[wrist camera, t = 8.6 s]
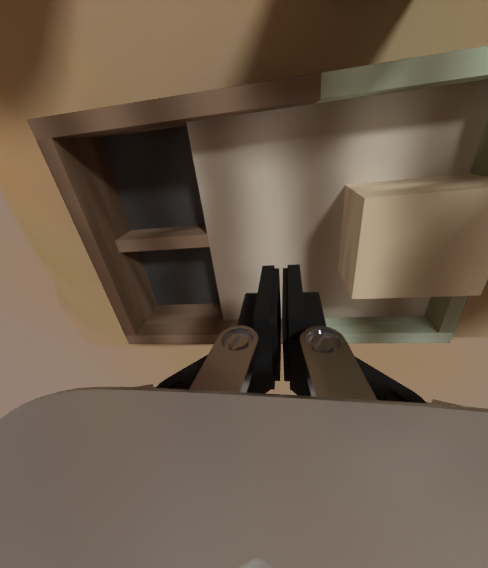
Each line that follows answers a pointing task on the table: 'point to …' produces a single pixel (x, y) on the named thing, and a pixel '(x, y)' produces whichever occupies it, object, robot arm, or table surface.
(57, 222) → the table surface
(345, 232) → the maple block
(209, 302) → the track
